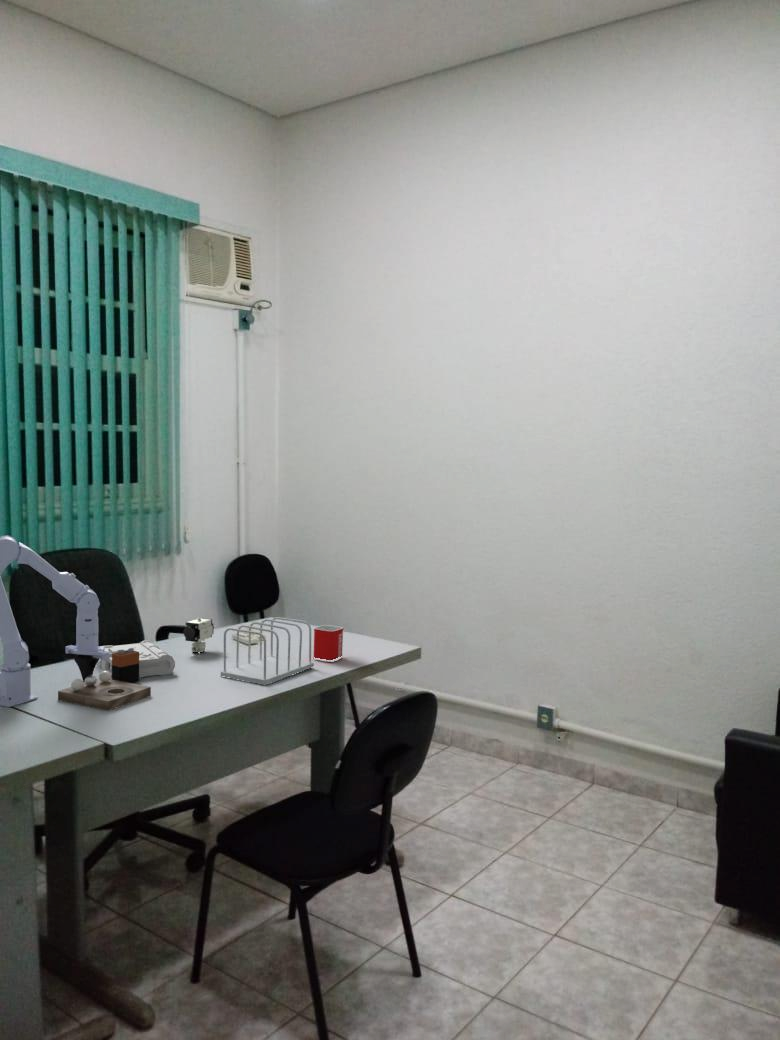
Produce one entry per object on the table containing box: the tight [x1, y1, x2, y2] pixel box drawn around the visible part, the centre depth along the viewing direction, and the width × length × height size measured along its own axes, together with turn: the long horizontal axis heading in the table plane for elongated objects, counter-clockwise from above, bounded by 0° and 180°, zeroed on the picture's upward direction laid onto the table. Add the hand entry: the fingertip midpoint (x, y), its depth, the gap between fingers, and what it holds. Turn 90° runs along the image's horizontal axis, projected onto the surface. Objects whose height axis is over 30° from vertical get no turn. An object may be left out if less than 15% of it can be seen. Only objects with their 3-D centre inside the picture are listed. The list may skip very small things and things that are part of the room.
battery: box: [111, 648, 140, 684], centre depth 242 cm, size 4×7×10 cm, turn 144°
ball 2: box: [98, 671, 112, 682], centre depth 234 cm, size 3×3×3 cm
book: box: [96, 639, 176, 679], centre depth 260 cm, size 19×28×8 cm
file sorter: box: [220, 616, 315, 686], centre depth 259 cm, size 25×17×16 cm
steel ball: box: [85, 674, 98, 686], centre depth 229 cm, size 3×3×3 cm
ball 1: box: [70, 678, 84, 691], centre depth 225 cm, size 3×3×3 cm
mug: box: [313, 624, 344, 660], centre depth 280 cm, size 12×8×11 cm
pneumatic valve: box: [183, 616, 215, 653], centre depth 281 cm, size 6×12×12 cm, turn 160°
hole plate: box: [57, 678, 152, 712], centre depth 227 cm, size 16×18×2 cm
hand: (87, 681), depth 230 cm, fingers closed, pressing on steel ball
